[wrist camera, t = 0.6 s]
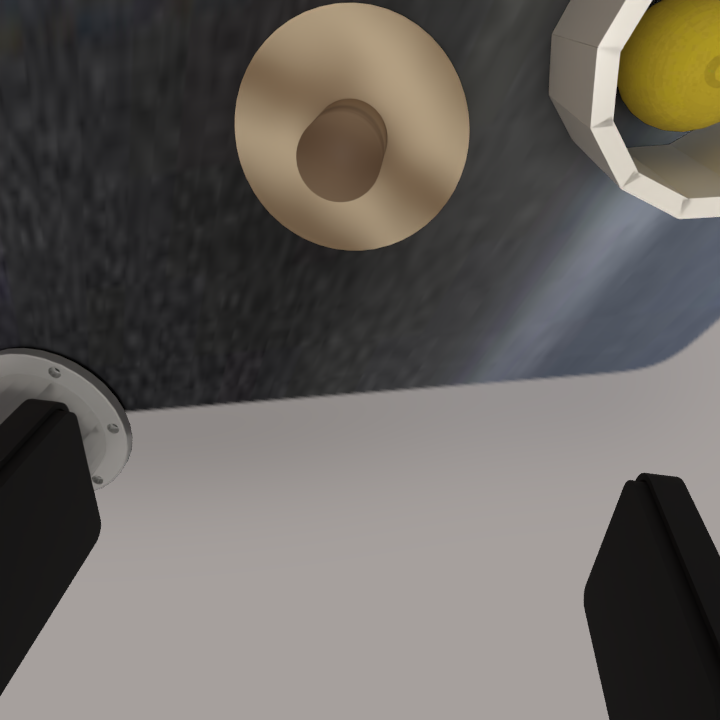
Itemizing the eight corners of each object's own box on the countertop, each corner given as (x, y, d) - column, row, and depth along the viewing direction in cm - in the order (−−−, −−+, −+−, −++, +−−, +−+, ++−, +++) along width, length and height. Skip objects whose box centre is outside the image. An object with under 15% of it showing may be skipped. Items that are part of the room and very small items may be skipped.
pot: (675, 194, 33) (755, 258, 25) (510, 108, 32) (538, 146, 24) (824, -6, 28) (985, -7, 20) (636, -119, 27) (726, -170, 19)
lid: (403, 279, 38) (399, 322, 33) (210, 188, 36) (174, 219, 31) (514, 75, 31) (530, 89, 26) (286, -47, 30) (257, -56, 25)
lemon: (696, 119, 31) (771, 153, 24) (586, 110, 32) (629, 141, 25) (737, -7, 28) (835, -9, 22) (616, -16, 29) (674, -20, 22)
